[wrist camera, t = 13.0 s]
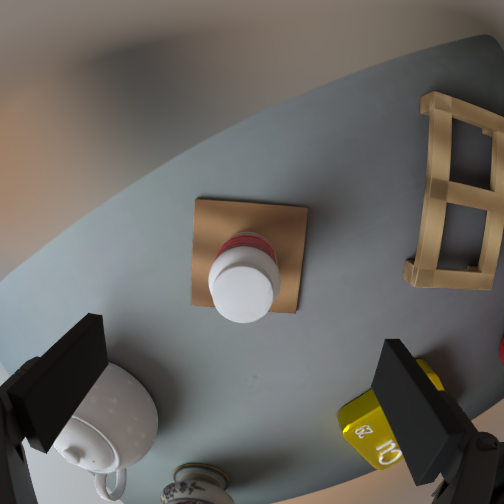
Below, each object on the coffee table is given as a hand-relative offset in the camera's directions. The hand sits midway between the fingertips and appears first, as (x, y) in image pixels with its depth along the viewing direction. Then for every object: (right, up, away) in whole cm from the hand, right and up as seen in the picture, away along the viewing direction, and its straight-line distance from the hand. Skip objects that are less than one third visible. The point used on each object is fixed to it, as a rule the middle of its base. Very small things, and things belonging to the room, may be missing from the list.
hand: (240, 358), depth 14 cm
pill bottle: (0, +4, +21) cm, 22 cm away
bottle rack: (+26, +12, +20) cm, 34 cm away
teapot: (-21, -18, +27) cm, 39 cm away
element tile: (+22, -19, +27) cm, 40 cm away
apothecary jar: (-8, -34, +31) cm, 47 cm away
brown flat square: (0, +4, +22) cm, 22 cm away
